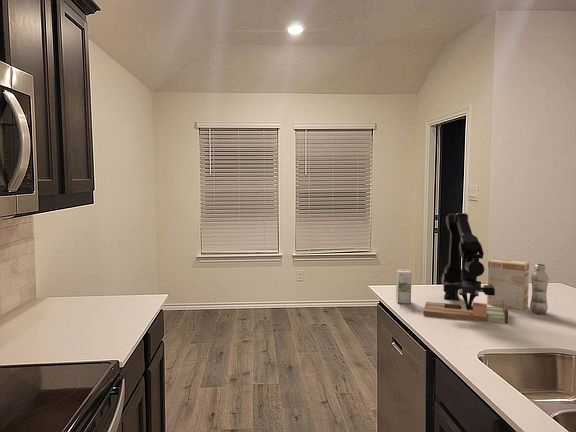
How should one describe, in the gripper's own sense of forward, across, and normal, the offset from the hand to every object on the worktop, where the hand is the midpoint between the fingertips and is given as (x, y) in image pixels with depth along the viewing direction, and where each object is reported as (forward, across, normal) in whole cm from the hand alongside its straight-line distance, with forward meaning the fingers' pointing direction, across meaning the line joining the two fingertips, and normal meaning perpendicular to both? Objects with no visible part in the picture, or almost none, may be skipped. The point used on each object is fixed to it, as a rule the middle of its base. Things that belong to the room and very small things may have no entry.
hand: (468, 310), depth 187 cm
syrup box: (+3, -27, +15) cm, 31 cm away
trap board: (+3, -2, +4) cm, 5 cm away
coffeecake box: (+3, +16, +24) cm, 29 cm away
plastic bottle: (+3, +27, +16) cm, 32 cm away
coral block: (+1, +4, -1) cm, 5 cm away
